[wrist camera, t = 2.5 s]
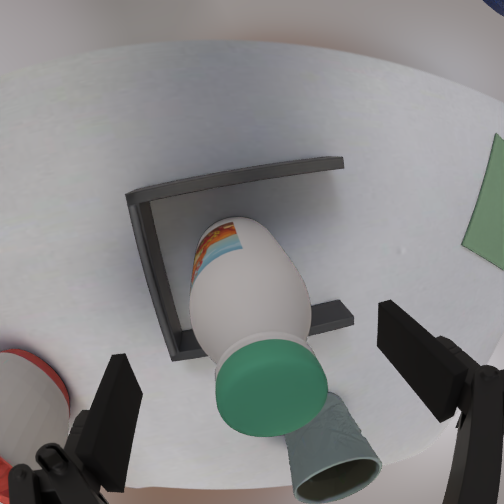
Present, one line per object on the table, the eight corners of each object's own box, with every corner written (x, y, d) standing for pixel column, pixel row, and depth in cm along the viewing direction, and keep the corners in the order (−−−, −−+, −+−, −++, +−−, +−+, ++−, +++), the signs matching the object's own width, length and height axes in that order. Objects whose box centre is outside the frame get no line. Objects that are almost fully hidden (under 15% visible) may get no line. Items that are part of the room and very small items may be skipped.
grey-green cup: (357, 386, 38) (396, 450, 26) (335, 436, 40) (362, 497, 29) (284, 388, 36) (309, 464, 25) (268, 440, 39) (285, 509, 27)
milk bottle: (260, 203, 29) (347, 288, 10) (286, 275, 32) (375, 421, 13) (182, 233, 29) (138, 365, 10) (214, 303, 32) (224, 475, 13)
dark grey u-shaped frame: (175, 340, 32) (171, 365, 28) (136, 189, 28) (123, 194, 23) (340, 307, 34) (356, 327, 29) (326, 156, 29) (346, 156, 24)
